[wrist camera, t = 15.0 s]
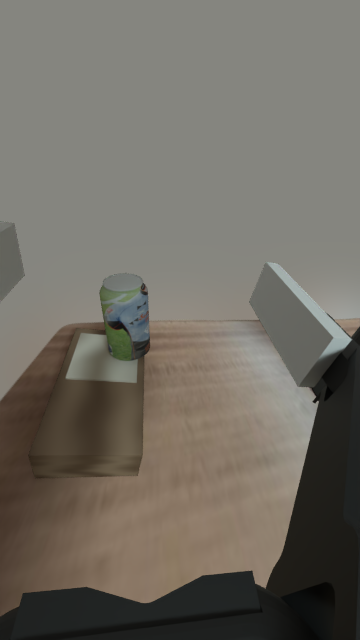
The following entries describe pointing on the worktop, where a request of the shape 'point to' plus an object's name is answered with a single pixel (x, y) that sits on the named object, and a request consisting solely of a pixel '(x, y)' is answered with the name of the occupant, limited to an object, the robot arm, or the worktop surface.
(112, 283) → the beverage can
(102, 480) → the worktop surface
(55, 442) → the riser
